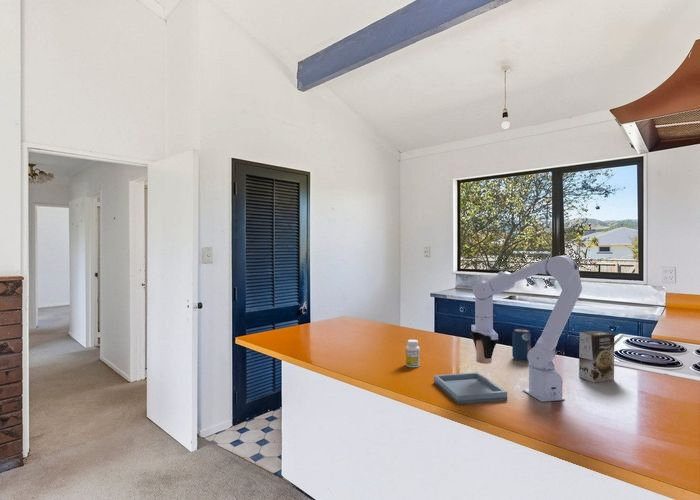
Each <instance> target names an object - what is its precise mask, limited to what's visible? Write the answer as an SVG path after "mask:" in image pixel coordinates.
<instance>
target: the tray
mask: <svg viewBox="0 0 700 500" xmlns="http://www.w3.org/2000/svg"><path fill="white" fill-rule="evenodd" d="M433 382H434V384H435V385H436V386H438V388H439V389H440V390H442V391H443V392H444V394H446V395H447V396H448V397H449V398H451V400H452V401H454V402H455V403H456V404H457V405H462V404H463V405H464V404H475V403H488V402H498V401H499V402H500V401H508V391H507V390H505V389H504V388H503V387H500V386H499V385H498V384H497V383H494V382H493V381H492V380H490V379H489V378H487V377H485V376H484V375H483V374H481V373H480V372H478V371H477V372H464V373H448V374H437V375H436V374H434V376H433Z"/></svg>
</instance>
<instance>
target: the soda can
mask: <svg viewBox="0 0 700 500" xmlns="http://www.w3.org/2000/svg"><path fill="white" fill-rule="evenodd" d="M511 341H512V342H511V343H512V344H511V345H512V349H511V350H512V351H511V353H512V358H513V359H514V360H515V361H517V362H525V363H526V362H529V361H528V358H527V354H528V352H529V350H530V349H532V335H531V332H530V330H529V329H526V328H514V329H513V332H512V340H511Z"/></svg>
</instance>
